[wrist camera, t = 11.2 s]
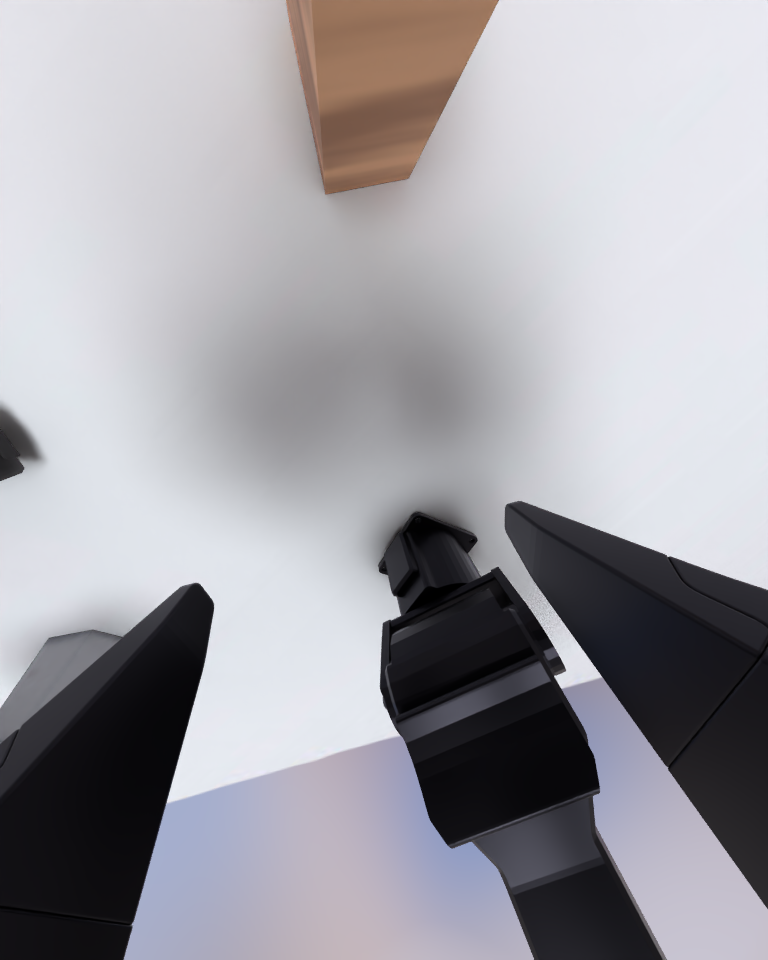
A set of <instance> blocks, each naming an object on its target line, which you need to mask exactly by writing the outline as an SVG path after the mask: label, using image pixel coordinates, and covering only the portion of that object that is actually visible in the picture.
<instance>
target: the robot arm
mask: <svg viewBox="0 0 768 960" xmlns="http://www.w3.org/2000/svg"><path fill="white" fill-rule="evenodd" d="M417 518H420V519H419V520H416V519H417ZM505 530H506V533H507V535H508V537H509V538H510V540H511V542H512V544H513V546H514V547H515V549H516V551H517V553H518V554H519V556H520V558H521V560H522V562H523V563H524V565H525V567H526V569H527V570H528V572H529V574H530V575H531V577H532V579H533V580H534V582H535V583H536V585H537V586H538V588H539V589H540V590H541V592H542V593H543V595H544V596H545V597H546V599H547V600H548V602H549V603H550V604H551V606H552V607H553V609H554V610H555V611H556V613H557V614H558V616H559V617H560V618H561V620H562V621H563V623H564V624H565V625H566V627H567V628H568V630H569V631H570V632H571V634H572V635H573V637H574V638H575V639H576V641H577V642H578V644H579V645H580V646H581V648H582V649H583V651H584V652H585V653H586V655H587V656H588V658H589V659H590V660H591V662H592V663H593V665H594V666H595V667H596V669H597V670H598V672H599V673H600V674H601V676H602V677H603V678H604V680H605V681H606V683H607V684H608V685H609V687H610V688H611V690H612V691H613V693H614V694H615V695H616V697H617V698H618V700H619V701H620V702H621V704H622V705H623V707H624V708H625V709H626V711H627V712H628V714H629V715H630V716H631V718H632V719H633V721H634V722H635V723H636V725H637V726H638V728H639V729H640V730H641V732H642V733H643V735H644V736H645V737H646V739H647V740H648V742H649V743H650V744H651V746H652V747H653V749H654V750H655V751H656V753H657V754H658V756H659V757H660V758H661V760H662V761H663V762H664V764H665V765H666V766H667V767H668V770H669V771H670V773H671V774H672V776H673V777H674V778H675V780H676V781H677V783H678V784H679V785H680V787H681V788H682V790H683V791H684V792H685V794H686V795H687V797H688V798H689V799H690V801H691V802H692V804H693V805H694V806H695V808H696V809H697V811H698V812H699V813H700V815H701V816H702V818H703V819H704V821H705V822H706V823H707V825H708V826H709V828H710V829H711V830H712V832H713V833H714V834H715V836H716V837H717V839H718V840H719V841H720V843H721V844H722V846H723V847H724V849H725V850H726V851H727V853H728V854H729V856H730V857H731V858H732V860H733V861H734V862H735V864H736V865H737V867H738V868H739V869H740V871H741V872H742V874H743V875H744V876H745V878H746V879H747V881H748V882H749V883H750V885H751V886H752V888H753V889H754V891H755V892H756V893H757V895H758V896H759V897H760V899H761V900H762V902H763V903H764V905H765V906H766V907H767V909H768V590H766V589H763V588H760V587H757V586H754V585H751V584H748V583H745V582H742V581H739V580H736V579H733V578H730V577H726V576H724V575H721V574H718V573H715V572H712V571H710V570H707V569H704V568H701V567H698V566H695V565H693V564H690V563H687V562H685V561H682V560H679V559H676V558H674V557H671V556H669V557H667V555H665V554H663V553H660V552H657V551H655V550H652V549H649V548H646V547H644V546H641V545H638V544H636V543H633V542H630V541H628V540H625V539H622V538H619V537H617V536H614V535H611V534H609V533H606V532H603V531H600V530H598V529H595V528H592V527H590V526H587V525H584V524H582V523H579V522H576V521H573V520H571V519H568V518H565V517H563V516H560V515H557V514H555V513H552V512H549V511H546V510H544V509H541V508H538V507H536V506H533V505H530V504H528V503H525V502H522V501H517V502H513V503H509V504H507V505H506V507H505ZM470 539H472V540H470ZM476 542H477V537H476V536H475V535H474V534H473V533H470V532H468V531H465V530H463V529H460V528H458V527H455V526H453V525H450V524H447V523H445V522H442V521H440V520H437V519H435V518H432V517H430V516H427V515H425V514H422V513H419V512H418V513H414V514H413V515H412V516H411V518H410V519H409V521H408V522H407V524H406V525H405V527H404V528H403V530H402V531H401V532H400V533H399V534H398V535H397V536H396V538H395V539H394V541H393V542H392V544H391V545H390V547H389V548H388V550H387V551H386V553H385V554H384V558H383V559H382V561H381V562H380V564H379V566H378V567H379V572H380V573H382V574H386V575H388V577H389V581H390V586H391V591H392V594H393V596H397V599H398V604H399V608H400V613H401V616H400V617H398V618H396V619H394V620H392V621H391V620H388V621H386V622H384V623H383V630H382V649H381V674H380V690H381V693H382V695H383V704H384V706H385V708H386V709H387V710H388V713H389V715H390V718H391V720H392V722H393V724H394V726H395V728H396V730H397V731H398V733H399V734H400V735H401V736H402V737H403V739H404V741H405V743H406V745H407V748H408V751H409V753H410V756H411V759H412V762H413V764H414V767H415V771H416V774H417V777H418V780H419V784H420V787H421V791H422V794H423V798H424V801H425V805H426V809H427V812H428V816H429V818H430V821H431V822H432V824H433V825H434V827H435V828H436V830H437V831H438V832H439V834H440V835H441V837H442V838H443V840H444V841H445V842H446V844H447V845H448V846H449V847H450V848H455V847H458V846H460V845H463V844H466V843H468V842H471V841H472V842H473V843H474V844H475V845H476V847H477V848H478V849H479V850H480V851H482V853H483V854H484V855H485V856H486V857H487V858H488V859H489V860H490V861H491V862H492V863H493V864H494V865H495V866H496V867H497V869H498V870H499V872H500V874H501V877H502V879H503V881H504V884H505V886H506V889H507V891H508V894H509V896H510V899H511V901H512V904H513V906H514V909H515V911H516V914H517V916H518V919H519V921H520V924H521V927H522V929H523V932H524V934H525V937H526V939H527V942H528V944H529V947H530V949H531V952H532V955H533V957H534V960H667V959H666V957H665V955H664V953H663V951H662V950H661V948H660V946H659V944H658V942H657V940H656V938H655V936H654V935H653V933H652V931H651V929H650V927H649V925H648V923H647V921H646V920H645V918H644V916H643V914H642V912H641V910H640V908H639V907H638V905H637V903H636V901H635V899H634V897H633V895H632V893H631V892H630V889H629V888H628V886H627V884H626V882H625V880H624V878H623V876H622V874H621V873H620V871H619V869H618V867H617V865H616V863H615V861H614V859H613V858H612V856H611V854H610V852H609V850H608V848H607V846H606V844H605V843H604V841H603V839H602V837H601V835H600V833H599V831H598V830H597V827H596V826H595V818H594V807H593V796H594V795H596V794H599V793H600V786H599V780H598V775H597V769H596V763H595V758H594V755H593V753H592V751H591V749H590V747H589V746H588V739H587V734H586V732H585V730H584V728H583V726H582V724H581V722H580V721H579V719H578V717H577V716H576V714H575V712H574V710H573V709H572V707H571V705H570V703H569V702H568V700H567V698H566V696H565V695H564V693H563V691H562V689H561V688H560V686H559V684H558V683H557V681H556V679H555V677H554V675H558V674H561V673H563V672H565V671H566V669H565V666H564V664H563V662H562V660H561V658H560V657H559V655H558V653H557V651H556V649H555V648H554V646H553V644H552V643H551V641H550V639H549V638H548V636H547V634H546V633H545V631H544V630H543V628H542V626H541V625H540V623H539V622H538V620H537V619H536V617H535V616H534V614H533V613H532V611H531V610H530V609H529V607H528V606H527V604H526V603H525V602H524V600H523V599H522V598H521V596H520V595H519V594H518V592H517V591H516V590H515V588H514V587H513V586H512V584H511V583H510V582H509V581H508V579H507V578H506V577H505V575H504V574H503V573H502V571H501V570H500V569H499V567H496V568H494V569H492V570H491V572H490V573H488V574H486V575H484V576H482V577H481V575H480V574H479V572H478V570H477V568H476V567H475V565H474V563H473V562H472V560H471V558H470V556H469V555H468V552H469V551H470V550H471V549H472V547H473V546H474V545H475V544H476ZM383 567H386V568H383ZM213 613H214V603H213V601H212V599H211V598H210V596H209V595H208V594H207V592H206V591H205V590H204V588H203V587H202V586H201V585H200V584H198V583H192V584H188V585H185V586H182V587H180V588H179V589H178V590H176V591H175V592H174V593H173V594H172V595H171V596H170V597H168V598H167V599H166V600H165V601H164V602H163V603H162V604H160V605H159V606H158V607H157V608H156V609H155V610H153V611H152V612H151V613H150V614H149V615H148V616H147V617H145V618H144V619H143V620H142V621H141V622H140V623H139V624H137V625H136V626H135V627H134V628H133V629H132V630H130V631H129V632H128V633H127V634H126V635H125V636H124V637H122V638H121V639H120V640H119V641H118V642H117V643H116V644H114V645H113V646H112V647H111V648H110V649H109V650H107V651H106V652H105V653H104V654H103V655H102V656H101V657H99V658H98V659H97V660H96V661H95V662H94V663H93V664H91V665H90V666H89V667H88V668H87V669H86V670H84V671H83V672H82V673H81V674H80V675H79V676H78V677H76V678H75V679H74V680H73V681H72V682H71V683H70V684H68V685H67V686H66V687H65V688H64V689H63V690H61V691H60V692H59V693H58V694H57V695H56V696H55V697H53V698H52V699H51V700H50V701H49V702H48V703H47V704H45V705H44V706H43V707H42V708H41V709H40V710H38V711H37V712H36V713H35V714H34V715H33V716H32V717H30V718H29V719H28V720H27V721H26V722H25V723H24V724H22V725H21V727H20V729H17V730H15V731H14V732H13V733H12V734H11V735H10V736H8V737H7V738H6V739H5V740H4V741H3V742H2V743H0V960H124V956H125V952H126V948H127V945H128V941H129V938H130V934H131V931H132V923H133V921H134V918H135V915H136V911H137V908H138V904H139V900H140V897H141V893H142V889H143V886H144V882H145V879H146V875H147V871H148V868H149V864H150V861H151V857H152V853H153V849H154V846H155V842H156V839H157V835H158V831H159V828H160V824H161V820H162V816H163V813H164V810H165V806H166V803H167V799H168V795H169V792H170V788H171V784H172V781H173V777H174V773H175V770H176V766H177V763H178V759H179V755H180V752H181V748H182V744H183V741H184V737H185V734H186V730H187V726H188V723H189V719H190V715H191V712H192V708H193V705H194V701H195V697H196V694H197V690H198V686H199V683H200V679H201V676H202V672H203V668H204V663H205V658H206V653H207V647H208V642H209V636H210V630H211V624H212V618H213Z"/></svg>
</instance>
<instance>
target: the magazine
mask: <svg viewBox="0 0 768 960" xmlns="http://www.w3.org/2000/svg"><path fill="white" fill-rule="evenodd" d="M17 456H20V454H19V453H18V452H17V450H16V449H15V448H14V446H13V445H12V444H11V442H10V441H9V440H8V438H7V437H6V436H5V434H4V433H3V432H2V430H1V429H0V481H2V480H4V479H7V478H10V477H12V476H15V475H17V474H20V473H22V472H23V470H24V467H23V465H22V464H21V463H20V461H19V460H18V459H17Z"/></svg>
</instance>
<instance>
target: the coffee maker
mask: <svg viewBox="0 0 768 960" xmlns="http://www.w3.org/2000/svg"><path fill="white" fill-rule="evenodd" d="M121 638H122V637H119V636H115V635H111V634H107V633H103V632H99V631H95V630H90V631H84V632H79V633H73V634H68V635H62V636H57V637H52V638H49V639H48V640H47V642H46V643H45V644H44V646H43V647H42V649H41V650H40V652H39V653H38V655H37V656H36V658H35V659H34V660H33V662H32V663H31V665H30V666H29V668H28V669H27V671H26V672H25V673H24V675H23V676H22V678H21V679H20V681H19V682H18V684H17V685H16V687H15V688H14V689H13V691H12V692H11V694H10V695H9V697H8V698H7V700H6V701H5V702H4V704H3V705H2V707H1V708H0V743H2V742H3V741H4V740H5V739H6V738H7V737H8V736H10V735H11V734H12V733H13V732H14V731H15V730H17V729H20V727H21V725H22V724H24V723H25V722H26V721H27V720H28V719H29V718H30V717H32V716H33V715H34V714H35V713H36V712H37V711H38V710H40V709H41V708H42V707H43V706H44V705H45V704H47V703H48V702H49V701H50V700H51V699H52V698H53V697H55V696H56V695H57V694H58V693H59V692H60V691H61V690H63V689H64V688H65V687H66V686H67V685H68V684H70V683H71V682H72V681H73V680H74V679H75V678H76V677H78V676H79V675H80V674H81V673H82V672H83V671H84V670H86V669H87V668H88V667H89V666H90V665H91V664H93V663H94V662H95V661H96V660H97V659H98V658H99V657H101V656H102V655H103V654H104V653H105V652H106V651H107V650H109V649H110V648H111V647H112V646H113V645H114V644H116V643H117V642H118V641H119V640H120V639H121Z"/></svg>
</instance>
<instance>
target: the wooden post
mask: <svg viewBox="0 0 768 960" xmlns="http://www.w3.org/2000/svg"><path fill="white" fill-rule="evenodd" d="M498 1H499V0H286V3H287V10H288V16H289V22H290V27H291V31H292V36H293V41H294V46H295V51H296V55H297V60H298V65H299V70H300V74H301V79H302V84H303V89H304V94H305V98H306V103H307V108H308V113H309V118H310V122H311V127H312V132H313V137H314V142H315V146H316V151H317V156H318V161H319V166H320V170H321V175H322V180H323V185H324V190H325V194H330V193H336V192H341V191H346V190H351V189H356V188H362V187H367V186H372V185H377V184H382V183H388V182H393V181H398V180H403V179H408V178H409V177H410V175H411V173H412V171H413V169H414V167H415V165H416V163H417V161H418V159H419V157H420V155H421V153H422V151H423V149H424V147H425V145H426V143H427V141H428V139H429V137H430V135H431V133H432V131H433V129H434V127H435V125H436V123H437V121H438V119H439V117H440V115H441V113H442V111H443V109H444V107H445V106H446V104H447V102H448V100H449V98H450V96H451V94H452V92H453V90H454V88H455V86H456V84H457V82H458V80H459V78H460V76H461V74H462V72H463V70H464V68H465V66H466V64H467V62H468V60H469V58H470V56H471V54H472V52H473V50H474V48H475V46H476V44H477V42H478V40H479V38H480V36H481V34H482V32H483V31H484V29H485V27H486V25H487V23H488V21H489V19H490V17H491V15H492V13H493V11H494V9H495V7H496V5H497V3H498Z"/></svg>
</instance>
